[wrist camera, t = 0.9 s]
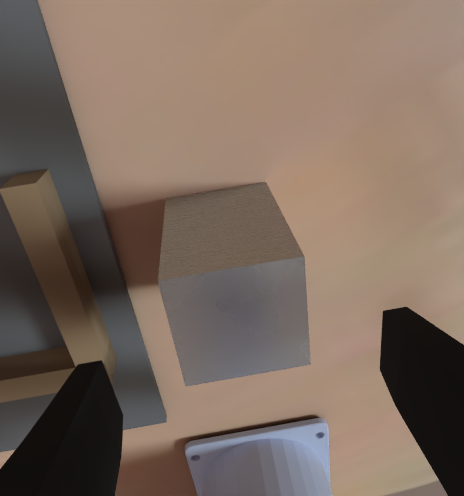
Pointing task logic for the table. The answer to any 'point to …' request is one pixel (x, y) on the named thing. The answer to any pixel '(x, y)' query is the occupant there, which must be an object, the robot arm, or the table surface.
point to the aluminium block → (233, 285)
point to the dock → (55, 248)
